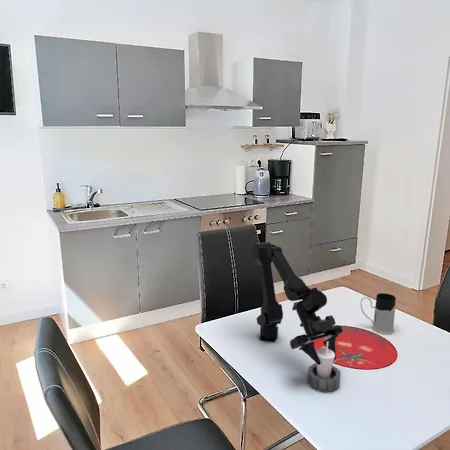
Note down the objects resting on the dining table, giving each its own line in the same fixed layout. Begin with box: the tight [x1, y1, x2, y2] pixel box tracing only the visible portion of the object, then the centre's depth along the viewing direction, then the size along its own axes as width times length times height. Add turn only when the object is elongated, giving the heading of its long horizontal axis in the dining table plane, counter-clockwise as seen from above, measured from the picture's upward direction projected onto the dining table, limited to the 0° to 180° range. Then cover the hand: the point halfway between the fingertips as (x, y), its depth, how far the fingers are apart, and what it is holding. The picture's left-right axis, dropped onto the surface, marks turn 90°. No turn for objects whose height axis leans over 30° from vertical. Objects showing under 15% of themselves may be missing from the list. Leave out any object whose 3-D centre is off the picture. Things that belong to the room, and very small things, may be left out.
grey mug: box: [360, 293, 397, 336], centre depth 171 cm, size 9×14×15 cm, turn 73°
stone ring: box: [306, 362, 341, 393], centre depth 135 cm, size 10×10×4 cm
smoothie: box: [315, 341, 335, 379], centre depth 134 cm, size 6×6×14 cm
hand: (327, 362), depth 133 cm, fingers closed on smoothie, 6 cm apart
